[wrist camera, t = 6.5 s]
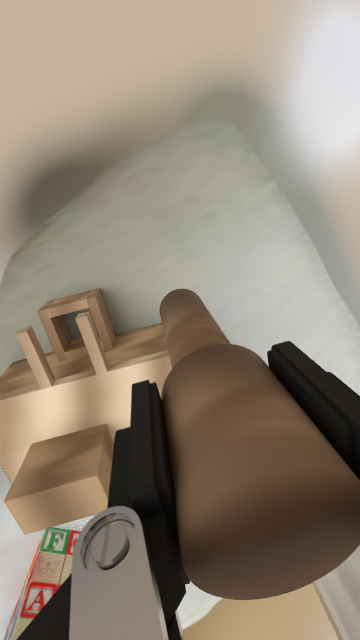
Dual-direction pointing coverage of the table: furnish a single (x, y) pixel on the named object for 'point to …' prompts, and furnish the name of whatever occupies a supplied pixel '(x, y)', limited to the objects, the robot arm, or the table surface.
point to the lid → (67, 431)
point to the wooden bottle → (248, 467)
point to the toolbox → (82, 342)
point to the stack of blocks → (43, 577)
